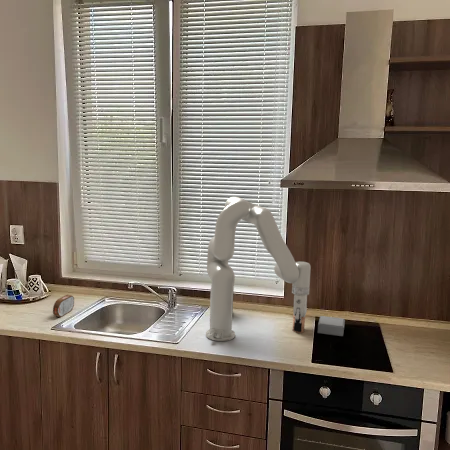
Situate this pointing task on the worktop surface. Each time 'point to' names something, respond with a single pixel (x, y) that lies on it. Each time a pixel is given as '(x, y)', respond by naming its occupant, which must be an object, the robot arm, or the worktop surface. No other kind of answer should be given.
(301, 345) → the worktop surface
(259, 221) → the robot arm
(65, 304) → the tin
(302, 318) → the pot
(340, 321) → the pedestal
